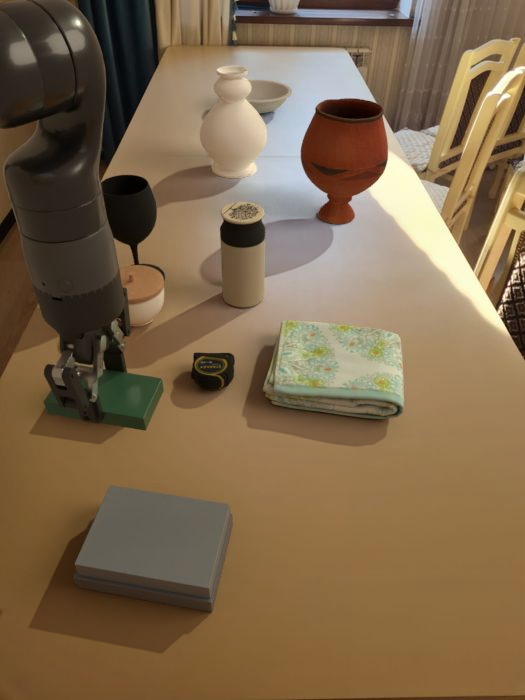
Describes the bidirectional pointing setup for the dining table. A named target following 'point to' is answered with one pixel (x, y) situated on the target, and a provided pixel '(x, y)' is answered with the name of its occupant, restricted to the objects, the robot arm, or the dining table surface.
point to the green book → (119, 399)
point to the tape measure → (213, 370)
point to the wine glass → (130, 211)
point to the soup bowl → (267, 95)
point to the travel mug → (242, 254)
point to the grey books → (156, 548)
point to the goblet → (344, 153)
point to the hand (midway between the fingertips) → (105, 397)
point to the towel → (337, 370)
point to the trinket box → (143, 293)
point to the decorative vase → (233, 126)
